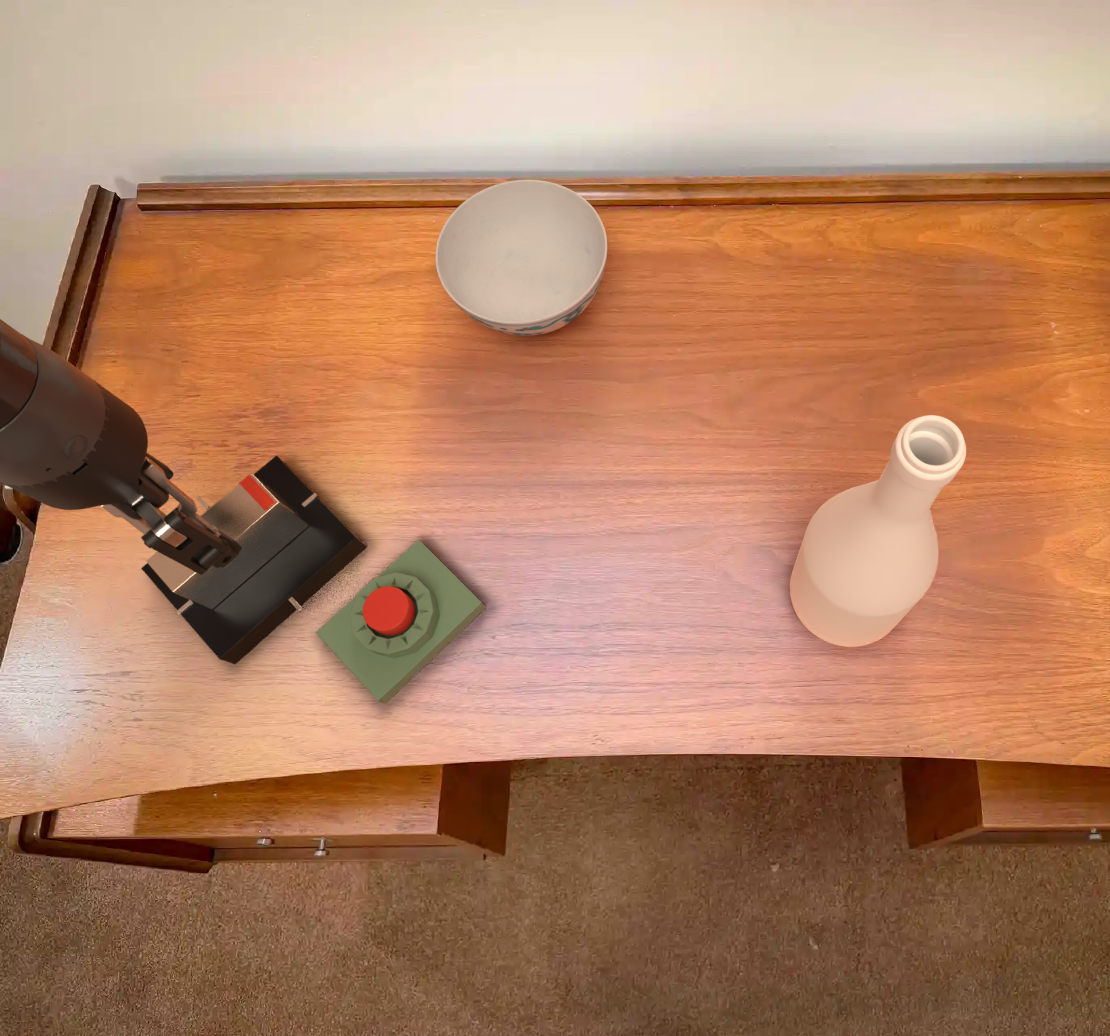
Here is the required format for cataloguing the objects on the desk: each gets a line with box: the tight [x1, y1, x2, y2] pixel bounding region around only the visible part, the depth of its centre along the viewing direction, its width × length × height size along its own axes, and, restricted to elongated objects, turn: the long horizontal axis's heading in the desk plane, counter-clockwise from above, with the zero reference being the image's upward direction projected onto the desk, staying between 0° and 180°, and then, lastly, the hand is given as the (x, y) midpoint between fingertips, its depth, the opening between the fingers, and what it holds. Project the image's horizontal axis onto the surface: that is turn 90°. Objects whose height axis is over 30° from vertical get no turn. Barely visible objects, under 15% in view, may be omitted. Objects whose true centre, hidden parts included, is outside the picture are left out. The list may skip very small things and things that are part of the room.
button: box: [363, 586, 415, 635], centre depth 69 cm, size 4×4×2 cm
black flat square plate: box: [140, 455, 368, 665], centre depth 73 cm, size 14×14×3 cm
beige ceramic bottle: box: [789, 414, 967, 648], centre depth 58 cm, size 10×10×30 cm
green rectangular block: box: [315, 539, 487, 705], centre depth 71 cm, size 11×8×4 cm
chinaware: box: [435, 179, 608, 337], centre depth 79 cm, size 15×15×8 cm
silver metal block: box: [146, 473, 309, 609], centre depth 69 cm, size 10×4×6 cm, turn 136°
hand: (194, 518), depth 64 cm, fingers open, 8 cm apart
